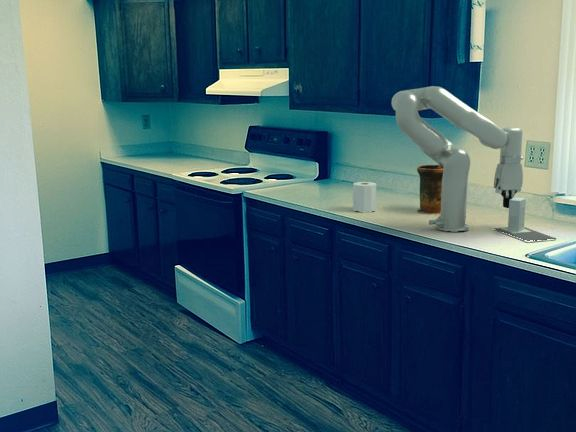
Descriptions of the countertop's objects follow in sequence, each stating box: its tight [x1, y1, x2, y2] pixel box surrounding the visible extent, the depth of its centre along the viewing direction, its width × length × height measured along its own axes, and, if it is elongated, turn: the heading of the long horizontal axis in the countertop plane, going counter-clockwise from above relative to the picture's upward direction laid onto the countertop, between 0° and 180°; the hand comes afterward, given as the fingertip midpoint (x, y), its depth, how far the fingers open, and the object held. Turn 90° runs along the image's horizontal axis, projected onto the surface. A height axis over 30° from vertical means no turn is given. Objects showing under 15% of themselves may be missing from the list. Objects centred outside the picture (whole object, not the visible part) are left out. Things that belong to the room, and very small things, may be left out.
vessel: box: [416, 164, 444, 215], centre depth 273 cm, size 14×14×20 cm
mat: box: [494, 226, 557, 241], centre depth 234 cm, size 12×20×1 cm, turn 16°
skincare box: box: [507, 196, 527, 232], centre depth 237 cm, size 6×4×12 cm
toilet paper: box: [352, 181, 377, 213], centre depth 277 cm, size 10×10×12 cm
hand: (507, 207), depth 243 cm, fingers closed
